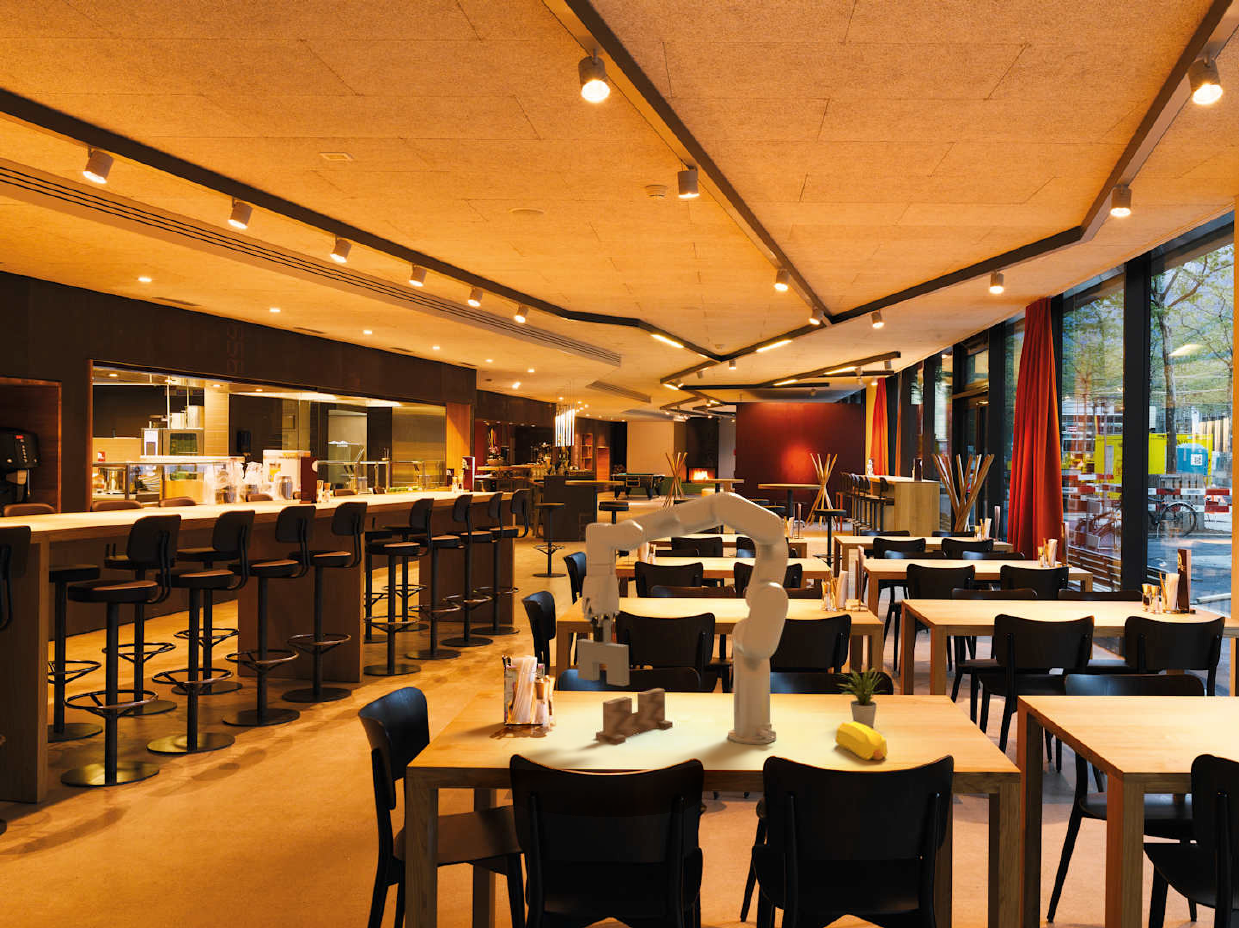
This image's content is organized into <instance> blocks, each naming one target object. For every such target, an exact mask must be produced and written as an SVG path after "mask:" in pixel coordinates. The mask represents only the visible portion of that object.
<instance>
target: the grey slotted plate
mask: <svg viewBox="0 0 1239 928" xmlns="http://www.w3.org/2000/svg"><path fill="white" fill-rule="evenodd" d="M601 627H603V642H595V641H593V639H586V638H581V639H577V640H576V642H577V643H576V645H577V649H576V651H577V678H578V679H581V680H587V681H592V682H594V681H598V680H600V664H604V665H606V684H609V685H614V686H621V687H625V686H628V685H630V664H629V663H630V660H629V657H630V656H629V645H628V644H621V643H620V644H619V643H614V642H612V640H611V620H607V619H603V618H602V622H601Z"/></svg>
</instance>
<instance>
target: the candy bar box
mask: <svg viewBox="0 0 1239 928" xmlns="http://www.w3.org/2000/svg"><path fill="white" fill-rule="evenodd" d="M507 664H508V663H506V664H505V666H506V672H505V667H503V668H504V670H503V671H504V672H503V673H504V676H503V677H504V682H503V683H504V686H503V689H504V690H503V691H504V692H503V694H504V695H503V697H504V698H503V699H504V700H503V725H504V724H505V723H507V719H508V703H509V702H510V701H511V700H512V699H513V690H514V687H515V684H516V681H517V676H518V673H517V670H516V666H514V665H512V666H509V665H507ZM537 664H538V668H537V677H538V678H542V677H544V678H545V663H537ZM506 674H507V685H506Z"/></svg>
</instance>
